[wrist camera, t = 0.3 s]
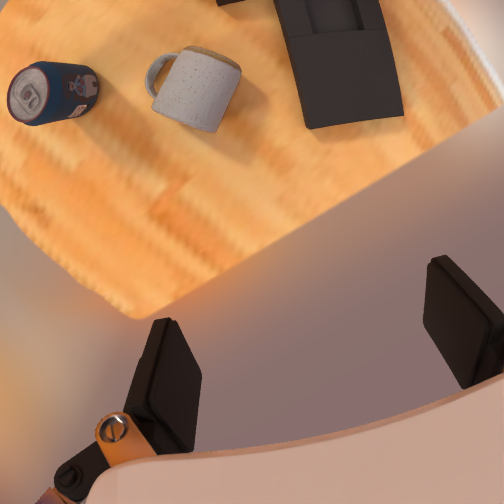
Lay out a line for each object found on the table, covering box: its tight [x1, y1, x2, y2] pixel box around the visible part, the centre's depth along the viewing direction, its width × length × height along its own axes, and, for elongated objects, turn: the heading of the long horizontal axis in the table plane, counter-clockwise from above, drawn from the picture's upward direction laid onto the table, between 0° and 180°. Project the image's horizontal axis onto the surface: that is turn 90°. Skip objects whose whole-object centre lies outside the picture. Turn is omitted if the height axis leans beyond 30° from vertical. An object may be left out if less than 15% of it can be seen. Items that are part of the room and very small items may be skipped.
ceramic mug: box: [145, 46, 242, 133], centre depth 30 cm, size 11×8×8 cm
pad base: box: [274, 0, 404, 129], centre depth 30 cm, size 22×12×3 cm, turn 14°
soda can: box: [7, 61, 99, 126], centre depth 27 cm, size 7×7×12 cm
